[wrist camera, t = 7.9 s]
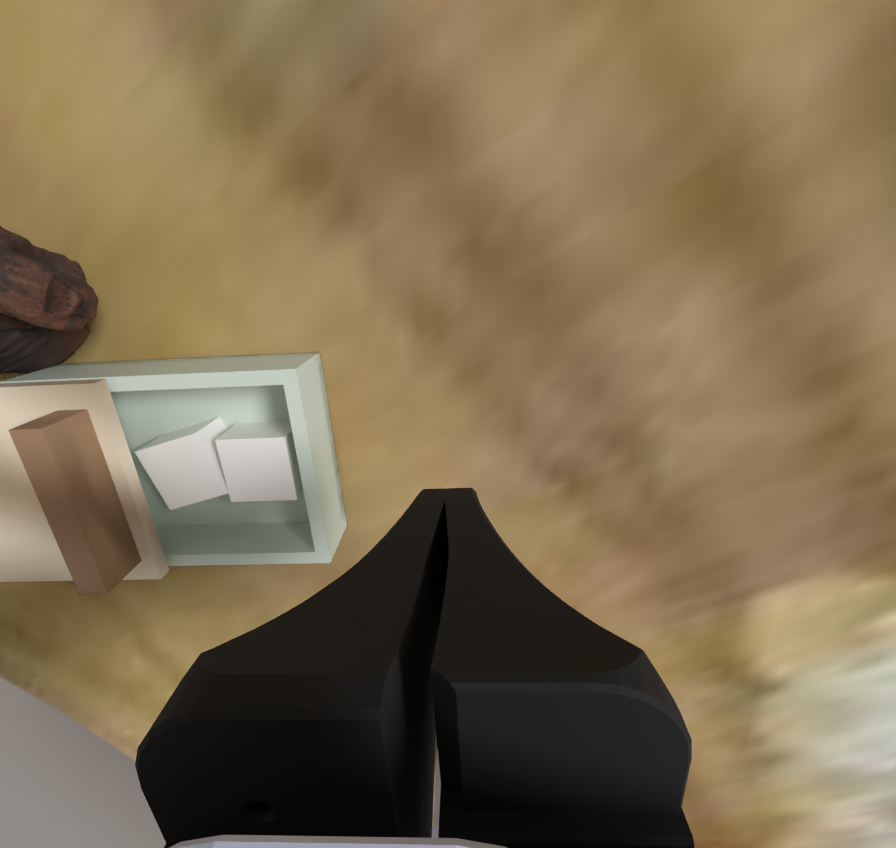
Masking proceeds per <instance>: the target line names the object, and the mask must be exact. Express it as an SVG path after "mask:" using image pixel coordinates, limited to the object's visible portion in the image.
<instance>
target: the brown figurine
mask: <svg viewBox="0 0 896 848" xmlns="http://www.w3.org/2000/svg"><path fill="white" fill-rule="evenodd" d="M97 305H98V298H97V296H96V294H95V292H94V290H93V288H92V287H91V286H89V285H88V284H87V282H86V278H85V275H84V273H83V271H82V268H81V266H80V265H79V264H78V263H77V262H75V261H71V260H69V259H68V258H67V257H65V256H64V255H61V254H57V253H54V252H50V251H47V250H45V249H43V248H39V247H36V246H34V245H32V244H31V243H30V241H29V240H27V239H26V238H24V237H22V236H20V235H18V234H15V233H12V232H10V231H7V230H5V229H4V228H2V227H1V226H0V373H12V372H14V373H32V372H35V371H39V370H42V369H46V368H49V367H52V366H54V365H56V364H59V363H61V362H63V361H64V360H65V359H67V358H69V357H70V356H71V355H72V354H73V353H74V352H75V350H76V349H77V348H78V347H79V346H80V345H81V344H82V343H83V342H84V340H85V339H86V338H87V336H88V334H89V333H90V329H89V328H88V327H87V326H86V324H87V323H89V322H90V321H91V320H93V319H94V318H95V316H96V309H97Z"/></svg>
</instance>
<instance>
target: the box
mask: <svg viewBox="0 0 896 848" xmlns="http://www.w3.org/2000/svg"><path fill="white" fill-rule="evenodd" d="M94 379H106V381H107V384H108V387H109V390H110V393H111V396H112V399H113V402H114V405H115V408H116V411H117V414H118V417H119V420H120V423H121V426H122V429H123V432H124V435H125V438H126V441H127V444H128V447H129V450H130V453H131V456H132V459H133V462H134V465H135V468H136V471H137V474H138V477H139V480H140V483H141V486H142V489H143V492H144V495H145V498H146V501H147V504H148V507H149V510H150V513H151V516H152V519H153V522H154V525H155V528H156V531H157V534H158V537H159V540H160V543H161V546H162V549H163V552H164V555H165V558H166V561H167V564H168V566H197V565H249V564H301V563H330V562H331V560H332V558H333V556H334V553H335V551H336V549H337V546H338V544H339V542H340V539H341V537H342V535H343V533H344V530H345V528H346V526H347V524H346V518H345V512H344V505H343V499H342V492H341V486H340V480H339V473H338V467H337V460H336V454H335V448H334V441H333V435H332V429H331V422H330V416H329V409H328V403H327V397H326V390H325V384H324V377H323V371H322V365H321V358H320V352H311V353H289V354H267V355H245V356H223V357H201V358H179V359H157V360H135V361H113V362H91V363H69V364H60V365H56V366H53V367H49V368H46V369H42V370H39V371H35V372H32V373H28V374H25V375H21V376H18V377H14V378H11V379H7V380H4V381H0V384H1V383H24V382H47V381H71V380H94ZM216 417H220V419H221V420H222V422H223V424H224V426H225V428H226V430H228V429H230V428H231V427H232V426H234V425H235V424H236V423H246V422H271V421H290V423H291V428H292V433H293V438H294V444H295V449H296V454H297V459H298V465H299V470H300V475H301V480H302V486H303V492H302V494H301V495H300V497H299V498H298V499H297V500H281V501H247V502H231V500H230V496H229V493H228V494H225V495H221V496H218V497H214V498H211V499H207V500H204V501H200V502H197V503H193V504H190V505H186V506H183V507H179V508H176V509H172V510H170V509H169V507H168V506H167V504H166V503H165V501H164V499H163V498H162V496H161V495H160V493H159V491H158V490H157V488H156V486H155V485H154V483H153V482H152V480H151V478H150V477H149V475H148V473H147V472H146V470H145V469H144V467H143V465H142V464H141V462H140V460H139V459H138V457H137V456H136V454H135V451H137V450H138V449H140V448H142V447H143V446H145V445H147V444H148V443H150V442H152V441H153V440H155V439H156V438H158V437H160V436H161V435H163V434H166V433H169V432H172V431H175V430H178V429H182V428H185V427H188V426H191V425H194V424H197V423H201V422H204V421H207V420H210V419H213V418H216Z"/></svg>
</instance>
